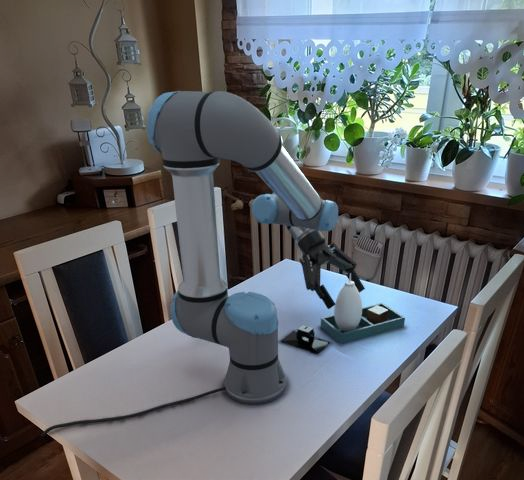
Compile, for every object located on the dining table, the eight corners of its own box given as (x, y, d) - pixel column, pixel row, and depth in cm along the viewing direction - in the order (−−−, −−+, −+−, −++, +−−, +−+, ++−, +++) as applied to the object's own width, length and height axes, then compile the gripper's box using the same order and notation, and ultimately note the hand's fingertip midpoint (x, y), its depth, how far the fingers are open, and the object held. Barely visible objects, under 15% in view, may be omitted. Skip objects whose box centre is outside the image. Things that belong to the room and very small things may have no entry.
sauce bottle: (362, 326, 144) (367, 269, 135) (357, 339, 138) (362, 280, 129) (336, 322, 147) (339, 266, 137) (330, 335, 141) (333, 277, 131)
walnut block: (377, 327, 143) (379, 314, 141) (366, 322, 146) (367, 309, 144) (387, 323, 146) (388, 309, 143) (375, 317, 149) (377, 305, 146)
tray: (340, 344, 136) (341, 334, 135) (320, 327, 145) (320, 317, 143) (403, 327, 143) (405, 317, 142) (381, 312, 152) (382, 302, 151)
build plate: (330, 343, 137) (331, 329, 135) (317, 355, 132) (317, 340, 130) (293, 331, 144) (293, 317, 141) (279, 342, 139) (279, 328, 136)
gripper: (327, 232, 149) (364, 290, 148) (270, 254, 135) (310, 319, 133) (342, 218, 143) (381, 279, 142) (284, 240, 129) (326, 308, 127)
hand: (347, 299), depth 138 cm, fingers open, 13 cm apart
